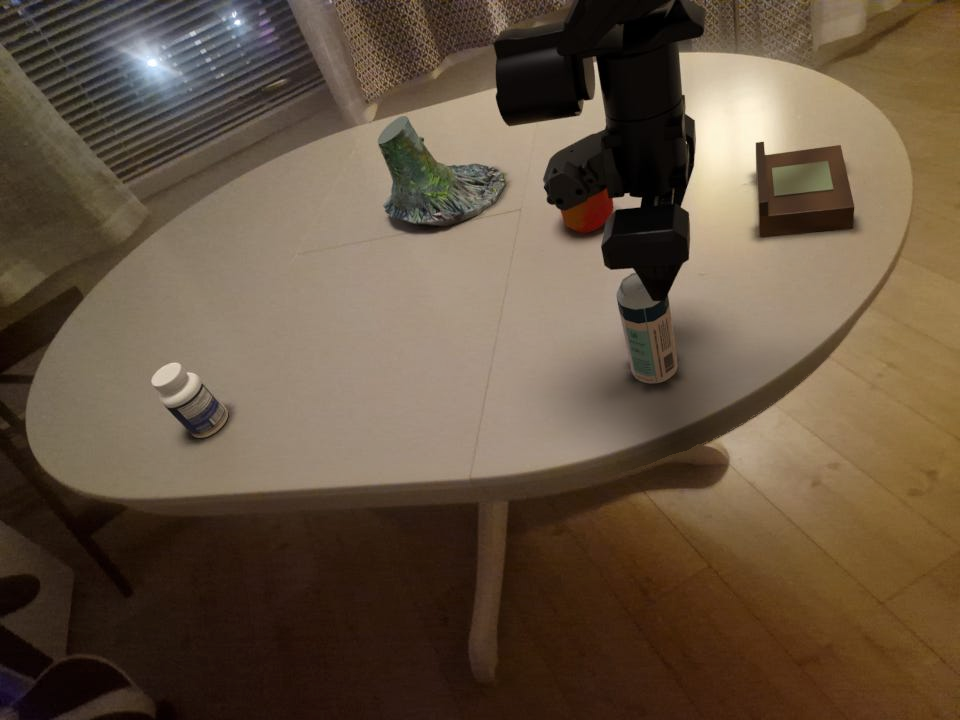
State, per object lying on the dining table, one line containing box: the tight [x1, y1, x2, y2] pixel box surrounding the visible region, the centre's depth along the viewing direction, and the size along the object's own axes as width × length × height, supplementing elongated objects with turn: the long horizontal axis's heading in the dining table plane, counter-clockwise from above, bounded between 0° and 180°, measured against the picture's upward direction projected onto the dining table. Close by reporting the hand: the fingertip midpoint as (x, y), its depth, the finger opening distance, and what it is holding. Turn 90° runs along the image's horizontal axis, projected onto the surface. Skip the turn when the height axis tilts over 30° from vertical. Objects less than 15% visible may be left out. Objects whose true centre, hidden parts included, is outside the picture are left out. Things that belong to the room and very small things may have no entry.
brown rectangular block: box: [755, 141, 855, 238], centre depth 81 cm, size 10×14×5 cm
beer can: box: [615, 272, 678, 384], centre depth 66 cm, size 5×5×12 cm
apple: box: [560, 188, 614, 234], centre depth 89 cm, size 9×8×12 cm
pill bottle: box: [150, 362, 229, 439], centre depth 83 cm, size 5×5×10 cm
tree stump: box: [377, 115, 506, 227], centre depth 105 cm, size 18×20×18 cm
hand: (662, 266), depth 59 cm, fingers open, 9 cm apart
